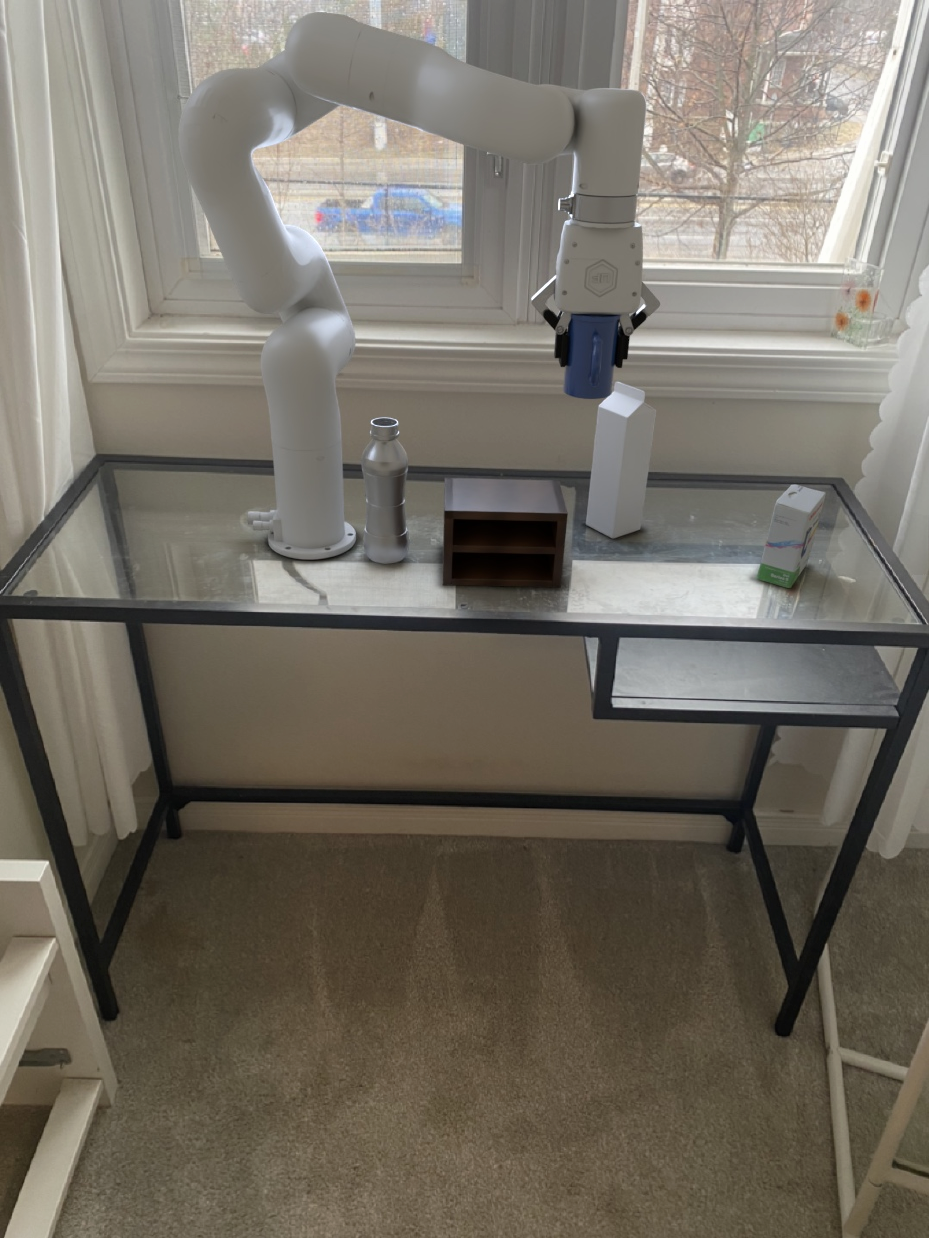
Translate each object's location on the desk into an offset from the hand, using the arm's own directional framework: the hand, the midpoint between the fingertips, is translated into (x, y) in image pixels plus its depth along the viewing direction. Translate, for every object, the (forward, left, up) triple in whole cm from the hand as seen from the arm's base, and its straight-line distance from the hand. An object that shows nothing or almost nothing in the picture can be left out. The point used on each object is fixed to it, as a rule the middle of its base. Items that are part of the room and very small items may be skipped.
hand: (590, 363), depth 120 cm
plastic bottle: (-26, +2, -29) cm, 39 cm away
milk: (+8, +14, -29) cm, 33 cm away
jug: (0, 0, -4) cm, 4 cm away
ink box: (+30, 0, -29) cm, 42 cm away
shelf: (-10, 0, -29) cm, 31 cm away
